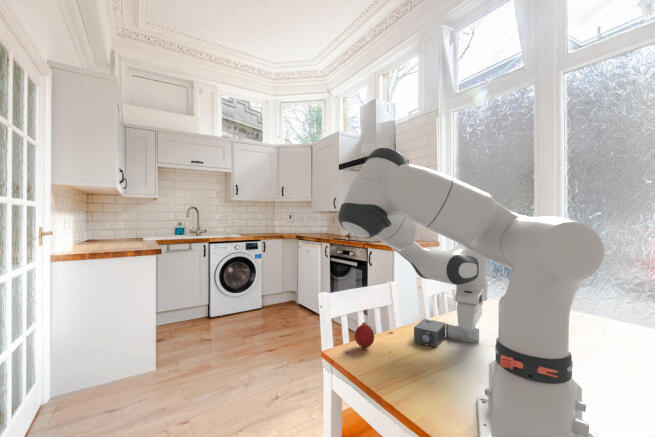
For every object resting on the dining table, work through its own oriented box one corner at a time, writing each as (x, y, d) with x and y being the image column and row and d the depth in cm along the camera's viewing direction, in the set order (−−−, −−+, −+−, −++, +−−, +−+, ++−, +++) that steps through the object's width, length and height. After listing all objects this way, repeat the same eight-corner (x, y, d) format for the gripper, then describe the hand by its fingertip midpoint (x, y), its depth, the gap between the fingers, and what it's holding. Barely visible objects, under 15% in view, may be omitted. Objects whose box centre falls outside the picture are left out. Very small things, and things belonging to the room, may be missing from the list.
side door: (479, 341, 92) (479, 328, 92) (479, 343, 91) (479, 329, 91) (446, 336, 97) (446, 323, 97) (445, 337, 96) (445, 324, 96)
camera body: (435, 349, 87) (435, 331, 87) (412, 343, 91) (412, 326, 91) (445, 336, 96) (445, 321, 96) (424, 331, 100) (424, 316, 100)
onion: (355, 343, 90) (355, 317, 90) (374, 345, 89) (374, 319, 89) (353, 352, 85) (353, 324, 85) (373, 354, 83) (373, 326, 84)
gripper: (466, 285, 102) (466, 325, 102) (453, 296, 85) (453, 344, 85) (487, 288, 98) (486, 329, 98) (477, 300, 81) (477, 350, 81)
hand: (471, 336), depth 91 cm, fingers closed
